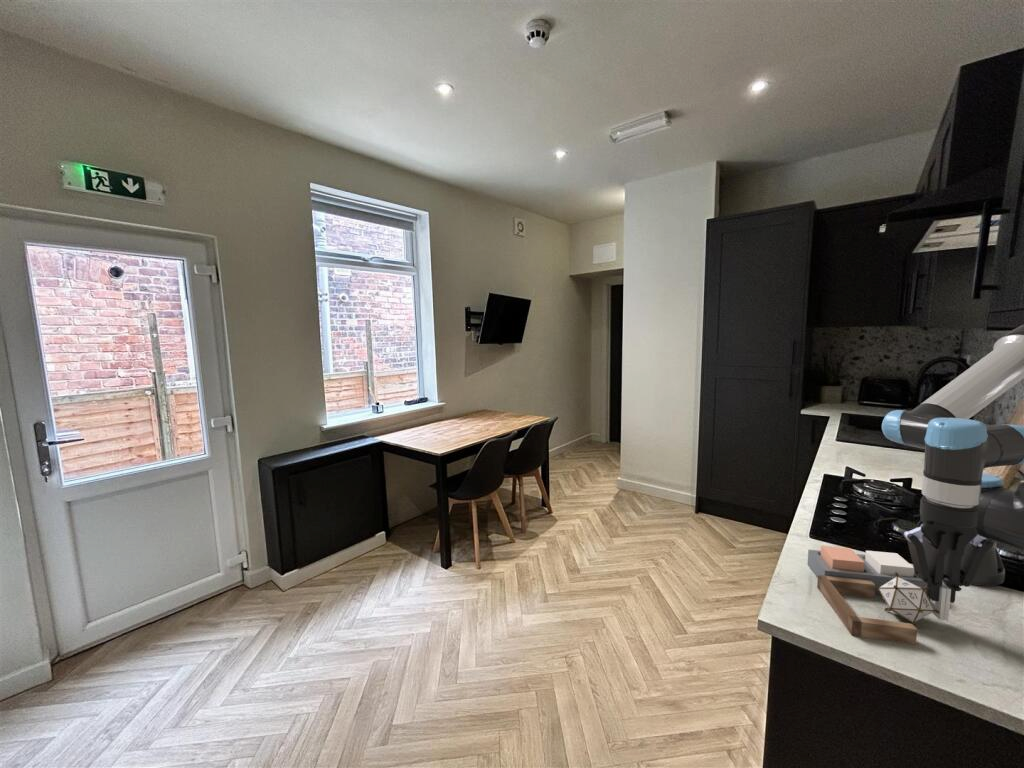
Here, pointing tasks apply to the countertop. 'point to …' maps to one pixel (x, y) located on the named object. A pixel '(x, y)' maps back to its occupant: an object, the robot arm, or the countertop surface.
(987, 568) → the robot arm
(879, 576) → the key panel
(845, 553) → the terracotta key
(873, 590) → the walnut bracket
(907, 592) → the game die
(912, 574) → the ivory key
